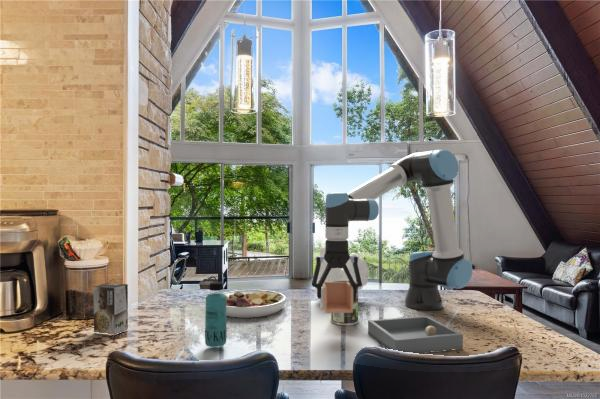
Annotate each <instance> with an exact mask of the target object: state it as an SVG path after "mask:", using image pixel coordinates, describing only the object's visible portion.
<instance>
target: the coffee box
mask: <svg viewBox="0 0 600 399" xmlns="http://www.w3.org/2000/svg"><path fill="white" fill-rule="evenodd" d="M128 286H129V284H128V283H116V282H115V283H114V282H105V283H101V284H98V285H95V286H93V333H94V332H99V333H108V334H114V335H115V334H117V333H120V332H122V331H125V330H127V329H128V330H129V323H128V321H129V318H128V317H129V311H128V310H129V308H128V307H129V304H128V303H129V302H128V301H129V300H128V297H129V296H128V295H129V294H128V293H129V289H128Z"/></svg>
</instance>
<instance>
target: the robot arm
mask: <svg viewBox="0 0 600 399" xmlns="http://www.w3.org/2000/svg"><path fill="white" fill-rule="evenodd" d="M459 168H460V166H459V161H458V159H457V157H456V156H455V154H453V153H452V152H451V150H448V149H433V150H427V151H425V150H424V151H419V152H413V153H410V154H409V155H406V156H404V157H403V158H401V159H399V160H397V161H395V162H394V163H392V164H390V165H389V166H388V169H387V170H385V171H383V172H381V173H380V174H378V175H377V176H375V177H372V178H371V179H369V180H368V181H366V182H365V183H362V184H360V185H359V186H357V187H356V188H354V189H351V191H348V192H328V193H327V194H326V195H325V205H324V208H323V209H324V214H325V234H324V235H325V237H324V238H325V239H326V240H325V244H324V245H325V246H324V247H325V255H324V256H320V257H319V255H316V259H315V262H316V263H315V267H314V268H315V269H314V272H313V276H312V280H311V286H312V287H313V288H315V287H316V288H317V294H316V297H317V299H319V302H320V303H319V306H320V310H323V309H324V289H323V288H321V287H322V285H323V283H324V281H325V280H326V278H327V276H328V274H329V272H330V270H331V268H343V269H344V271H345V273H346V275H347V277H348V279H349V281H350V283H351V285H352V287H353V298H356V289H357V287H361V286H362V282H361V278H360V273H359V269H358V264H357V263H358V257H356V256H350V254H349V241H348V239H349V224H350V222H368V221H369V222H370V221H374V220H376V219H377V217H378V215H379V212H380V210H379V204H378V202H377V200H376V199H378V198H379V197H382V196H384V195H385V194H386V193H388V192H390V191H391V190H394V189H395V188H396V187H403V186H404V185H406V184H410V183H415V182H421V187H422V188H423V189H424V190H425V191H426V193H427V199H428V208H429V214H430V221H431V228H432V234H433V235H432V236H433V242H434V248H435V250H425V251H424V250H423V251H413V252H411V253H410V254H409V257H408V259H409V260H408V272H409V273H408V276H409V277H408V278H409V280H408V281H409V282H408V283H409V284H408V289H407V292H406V296H405V300H404V305H405V306H406V307H407V308H411V309H413V310H420V311H437V310H441V309H443V300H442V296H441V293H440V291H439V286H442V287H446V288H447V287H448V288H450V289H458V290H459V289H463V288H465V287H466V286H467V285H468V284H469V283H470V281H471V279H472V275H473V265H472V263H471V262H470V261H469V260H468V259H467V258H465V254H464V251H463V250H462V249H460V247H459V243H458V235H457V229H456V220H455V213H454V206H453V199H452V192H451V187H452V186H453V185H454V184H455V182H454V179H455V178H456V177H457V175H458V172H459ZM324 259H325V261H326V262H327V263H328V264H327V266H326V268H325V270H324V272H323V274H322V276H321V278H320V280H319V282H318V283H317V279H318V275H319V270H320V266H321V263H322V262H323V260H324ZM349 259H350V260H351V262H352V263H353V268H354V273H355V277H356V281H357V283H355V282H354V280H353V278H352V276H351V274H350V272H349V270H348V268H347V266H346V263H347V262H348V260H349Z"/></svg>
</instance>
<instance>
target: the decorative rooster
mask: <svg viewBox="0 0 600 399" xmlns="http://www.w3.org/2000/svg"><path fill="white" fill-rule="evenodd" d="M324 255H325V246H321V247H320V249H319V255H318V256H319V257H320V256H324ZM349 256H356V257H358V263H357V264H358V269H359V273H360V278H361V282H362V286H361V287H358V291H360V290H362V289H363V287H364V286H366V285H367V284H368V281H369V277H370V269H369V267H368V265H367V262H366V261H365V260H364V258H362V257H360V255H359V254H358V253H356V252H351V253H350V254H349ZM314 260H316V257H314ZM327 264H328V263H327V262H326V261H325V259H324V260H323V262H322V263H321V266H320V270H319V275H318V279H317V283H318V282H319V280H320V278H321V276H322V274H323V272H324V270H325V268H326V266H327ZM346 266H347V268H348V270H349V272H350V274H351V276H352V278H353V280H354V282H357V281H356V277H355V273H354V268H353V263H352V262H351V260H350V259H349V260H348V262H347V263H346ZM334 281H349V279H348V277H347V275H346V273H345V271H344V269H343V268H331V270H330V272H329V274H328V276H327V278H326V280H325V281H324V282H334ZM321 288H322V287H321ZM314 290H315V293H316V295H317V288H316V287H314Z"/></svg>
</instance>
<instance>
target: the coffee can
mask: <svg viewBox="0 0 600 399" xmlns="http://www.w3.org/2000/svg"><path fill="white" fill-rule="evenodd" d="M334 282H349V284H350V285H351V283H350V281H334ZM355 283H357V282H355ZM351 286H352V285H351ZM330 322H331V323H332V324H334V325H339V326H353V325H357V324H358V323H359V290H358V287H357V289H356V298H353V313H330Z"/></svg>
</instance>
